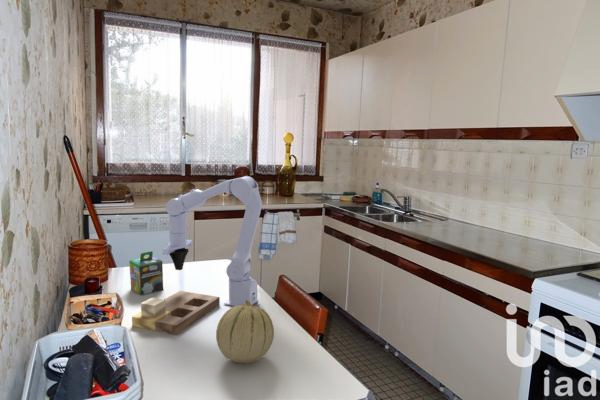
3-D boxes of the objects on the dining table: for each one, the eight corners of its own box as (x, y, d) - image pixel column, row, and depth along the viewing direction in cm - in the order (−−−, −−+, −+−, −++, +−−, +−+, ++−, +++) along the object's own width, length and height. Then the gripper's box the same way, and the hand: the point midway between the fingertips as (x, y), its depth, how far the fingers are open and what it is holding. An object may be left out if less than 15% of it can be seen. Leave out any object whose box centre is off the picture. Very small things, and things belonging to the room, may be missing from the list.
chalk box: (153, 284, 166) (151, 247, 164) (164, 290, 160) (163, 251, 158) (129, 289, 160) (128, 251, 158) (140, 296, 153) (138, 256, 151)
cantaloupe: (219, 378, 101) (218, 319, 99) (214, 349, 115) (213, 296, 113) (279, 370, 105) (280, 313, 103) (268, 343, 119) (268, 292, 117)
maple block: (165, 312, 132) (165, 299, 132) (154, 318, 127) (154, 305, 127) (152, 309, 134) (152, 297, 133) (141, 315, 129) (140, 303, 129)
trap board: (219, 305, 146) (219, 297, 145) (176, 335, 124) (176, 325, 123) (180, 298, 151) (180, 290, 151) (132, 326, 129) (131, 316, 129)
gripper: (180, 227, 157) (181, 262, 159) (154, 235, 144) (156, 273, 146) (197, 228, 155) (197, 264, 157) (172, 237, 141) (173, 276, 143)
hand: (178, 269), depth 151 cm, fingers closed
